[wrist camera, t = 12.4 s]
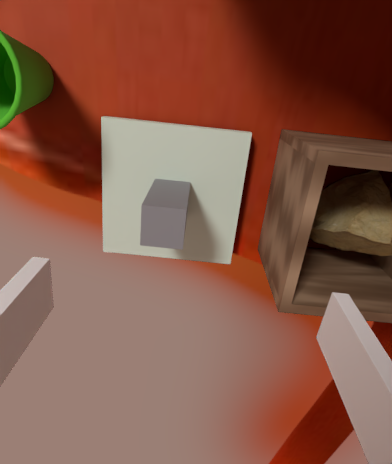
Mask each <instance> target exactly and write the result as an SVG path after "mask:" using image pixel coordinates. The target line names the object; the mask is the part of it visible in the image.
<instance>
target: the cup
mask: <svg viewBox="0 0 392 464" xmlns="http://www.w3.org/2000/svg"><path fill="white" fill-rule="evenodd" d="M53 85H54V78H53V73H52V70H51V68H50V65H49V64H48V62H47V61H46V60H45V58H44V57H43V56H41V55H40V54H39V53H37V52H36V51H34V50H32V49H31V48H29V47H27V46H26V45H24V44H22V43H21V42H19V41H17V40H15V39H14V38H12V37H10V36H9V35H7V34H5V33H4V32H2V31H1V30H0V129H2V128H4V127H5V126H7V125H8V124H9V123H10V122H11V121H12V120H13V119H14V118H15V116H16V115H18V114H20V113H22V112H24V111H25V110H27V109H29V108H31V107H33V106H35V105H36V104H38V103H40V102H42V101H44V100H46V99H47V98H48V97H49V95H50V94H51V92H52V89H53Z"/></svg>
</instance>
